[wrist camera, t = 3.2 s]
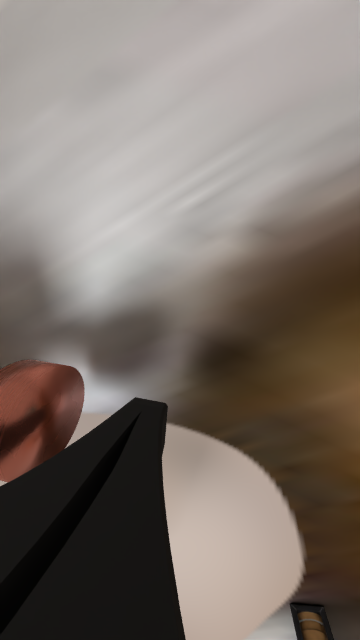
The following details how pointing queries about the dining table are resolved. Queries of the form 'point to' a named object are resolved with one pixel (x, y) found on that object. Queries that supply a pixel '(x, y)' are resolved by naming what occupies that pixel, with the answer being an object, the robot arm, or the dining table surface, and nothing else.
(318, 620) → the ammunition clip
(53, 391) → the shaft
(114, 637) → the robot arm
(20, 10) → the dining table surface
